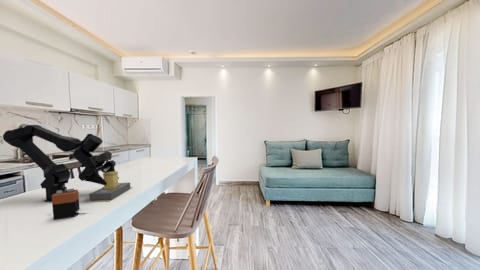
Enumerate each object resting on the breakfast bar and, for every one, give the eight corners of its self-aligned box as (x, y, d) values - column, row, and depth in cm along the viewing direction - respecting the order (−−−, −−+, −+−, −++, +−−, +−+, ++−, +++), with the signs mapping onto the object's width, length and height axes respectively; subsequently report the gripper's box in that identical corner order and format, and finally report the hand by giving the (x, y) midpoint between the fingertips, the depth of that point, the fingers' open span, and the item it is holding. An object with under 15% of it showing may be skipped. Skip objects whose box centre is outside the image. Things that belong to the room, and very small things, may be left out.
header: (85, 206, 87) (84, 195, 87) (113, 190, 107) (113, 181, 107) (109, 205, 87) (108, 194, 87) (133, 190, 107) (132, 181, 107)
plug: (104, 195, 95) (103, 173, 95) (109, 192, 99) (108, 171, 98) (114, 195, 95) (112, 173, 95) (118, 192, 99) (117, 171, 98)
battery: (75, 216, 77) (73, 190, 76) (53, 220, 75) (50, 192, 74) (80, 212, 81) (78, 186, 81) (58, 215, 79) (56, 189, 78)
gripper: (83, 148, 87) (111, 174, 87) (110, 144, 105) (133, 165, 106) (65, 168, 87) (94, 193, 88) (96, 160, 106) (119, 181, 106)
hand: (112, 181), depth 97 cm, fingers open, 9 cm apart
